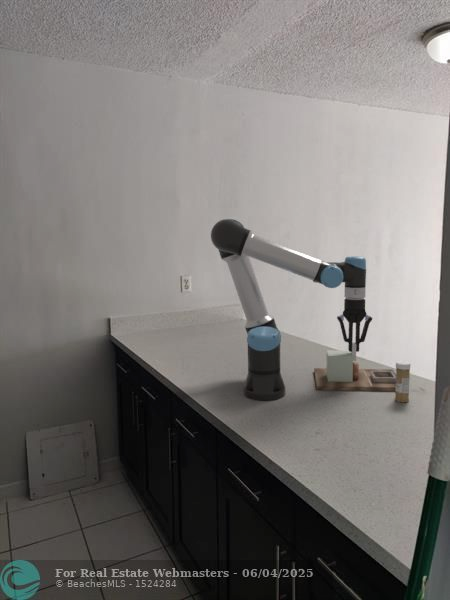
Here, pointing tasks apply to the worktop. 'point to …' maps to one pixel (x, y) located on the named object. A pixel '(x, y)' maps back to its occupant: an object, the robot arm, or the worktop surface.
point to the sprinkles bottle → (402, 381)
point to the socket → (383, 376)
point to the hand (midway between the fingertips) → (353, 359)
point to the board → (359, 383)
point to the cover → (339, 366)
